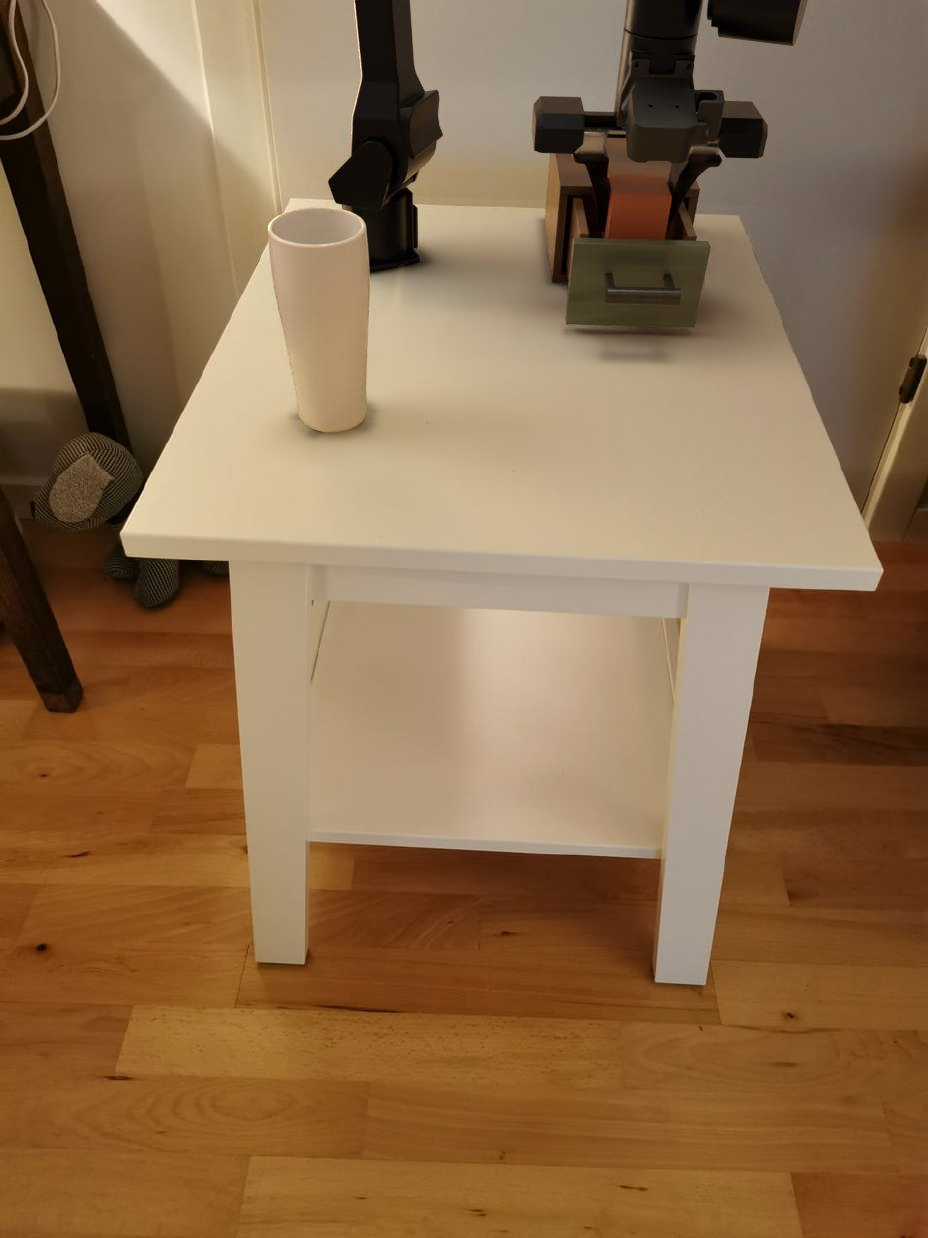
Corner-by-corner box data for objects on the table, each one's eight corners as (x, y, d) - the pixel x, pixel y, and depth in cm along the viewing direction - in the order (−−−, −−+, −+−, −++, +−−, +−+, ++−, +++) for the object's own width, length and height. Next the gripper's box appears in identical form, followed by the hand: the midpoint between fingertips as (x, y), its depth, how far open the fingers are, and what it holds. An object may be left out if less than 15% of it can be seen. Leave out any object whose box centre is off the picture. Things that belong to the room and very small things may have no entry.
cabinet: (682, 285, 94) (700, 188, 87) (551, 282, 94) (560, 185, 87) (661, 224, 104) (676, 133, 98) (544, 221, 104) (551, 130, 98)
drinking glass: (363, 446, 73) (351, 251, 63) (277, 434, 74) (251, 240, 64) (386, 399, 78) (378, 210, 67) (305, 389, 79) (285, 201, 68)
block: (662, 254, 85) (672, 196, 81) (605, 253, 85) (612, 194, 81) (655, 231, 88) (664, 174, 85) (600, 229, 88) (607, 172, 85)
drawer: (702, 352, 83) (720, 269, 78) (569, 349, 83) (577, 265, 77) (672, 261, 95) (686, 185, 90) (556, 258, 95) (563, 181, 90)
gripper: (545, 55, 69) (530, 267, 80) (806, 62, 69) (756, 273, 80) (538, 16, 77) (525, 213, 88) (772, 22, 77) (730, 219, 88)
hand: (632, 230), depth 86 cm, fingers closed on block, 5 cm apart
